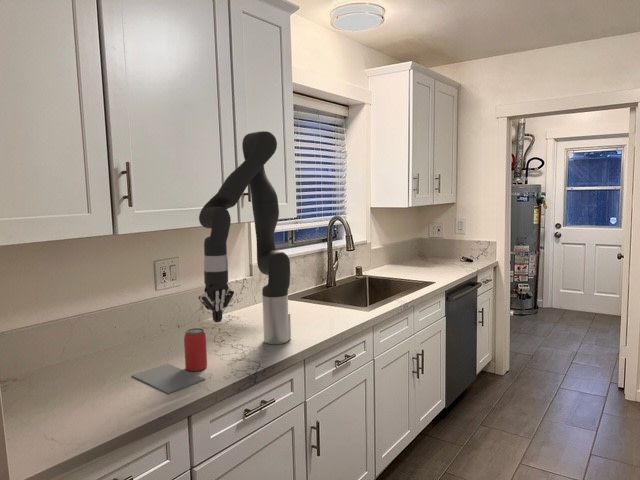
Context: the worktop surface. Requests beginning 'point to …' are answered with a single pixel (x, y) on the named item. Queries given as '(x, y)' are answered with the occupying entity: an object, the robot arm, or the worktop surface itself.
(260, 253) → the robot arm
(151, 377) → the slate mat
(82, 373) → the worktop surface
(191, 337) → the beer can
